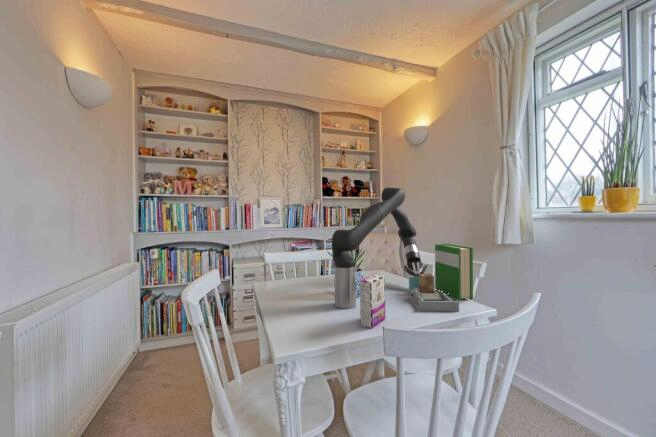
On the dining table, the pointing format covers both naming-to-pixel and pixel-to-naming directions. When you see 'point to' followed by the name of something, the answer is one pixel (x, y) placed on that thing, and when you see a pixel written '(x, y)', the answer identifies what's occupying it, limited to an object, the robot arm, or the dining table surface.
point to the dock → (434, 303)
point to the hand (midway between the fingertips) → (418, 281)
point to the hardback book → (454, 270)
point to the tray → (425, 296)
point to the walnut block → (426, 283)
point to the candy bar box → (372, 300)
